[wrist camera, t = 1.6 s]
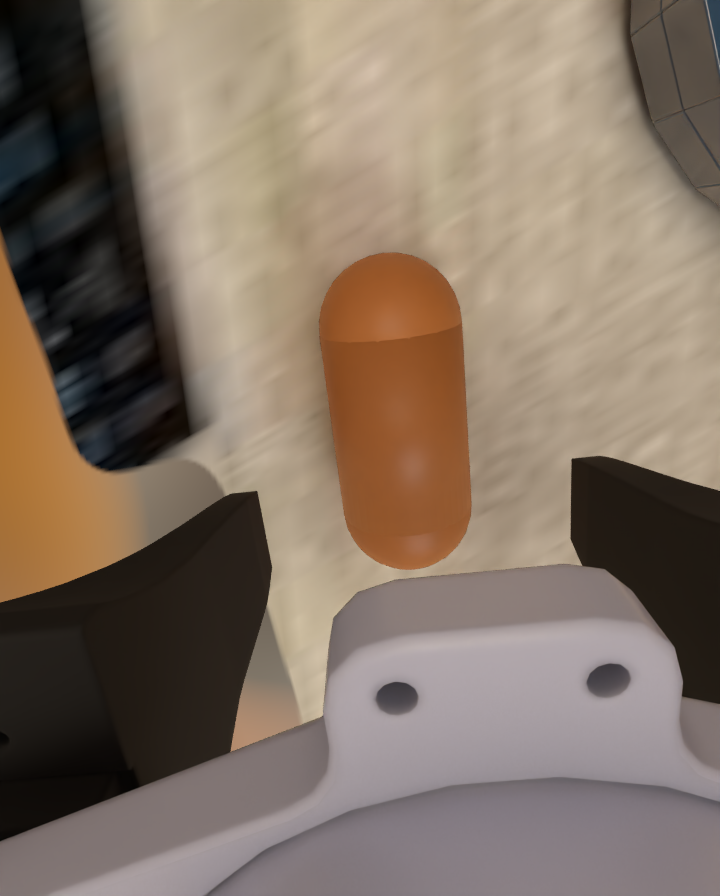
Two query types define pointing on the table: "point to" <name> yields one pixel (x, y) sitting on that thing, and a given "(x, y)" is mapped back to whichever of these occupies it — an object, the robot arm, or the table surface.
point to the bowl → (683, 81)
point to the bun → (398, 408)
